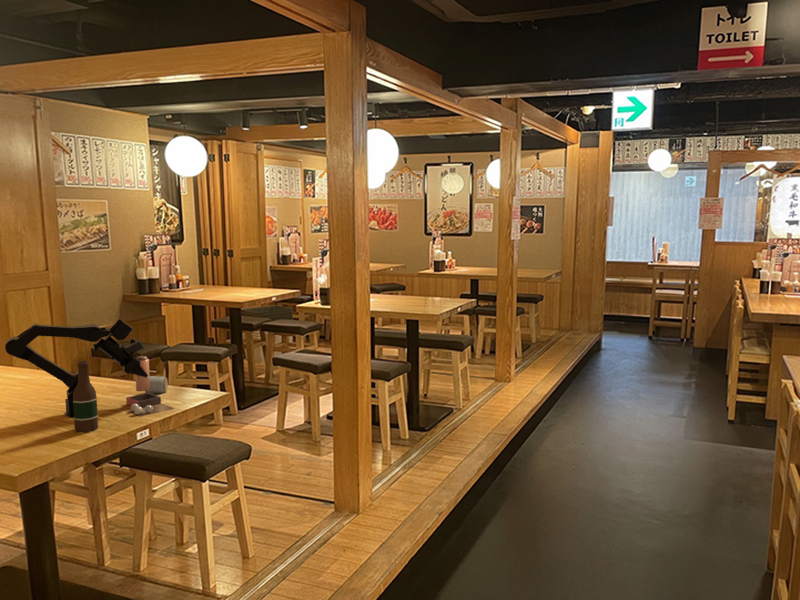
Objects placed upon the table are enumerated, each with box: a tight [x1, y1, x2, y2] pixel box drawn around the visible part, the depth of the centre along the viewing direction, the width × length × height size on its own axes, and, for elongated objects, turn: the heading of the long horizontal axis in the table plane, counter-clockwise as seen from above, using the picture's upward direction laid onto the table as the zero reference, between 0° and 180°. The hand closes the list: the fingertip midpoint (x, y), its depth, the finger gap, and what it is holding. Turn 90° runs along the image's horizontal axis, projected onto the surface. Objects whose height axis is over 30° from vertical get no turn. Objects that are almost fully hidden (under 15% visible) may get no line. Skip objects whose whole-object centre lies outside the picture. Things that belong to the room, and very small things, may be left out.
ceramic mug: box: [144, 375, 168, 395], centre depth 264 cm, size 11×8×8 cm
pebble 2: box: [134, 406, 143, 416], centre depth 232 cm, size 3×3×3 cm
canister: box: [135, 355, 150, 392], centre depth 244 cm, size 5×5×13 cm
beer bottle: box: [73, 360, 99, 433], centre depth 216 cm, size 8×8×24 cm
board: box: [126, 402, 176, 418], centre depth 238 cm, size 14×10×1 cm
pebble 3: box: [144, 405, 153, 413], centre depth 234 cm, size 3×3×3 cm
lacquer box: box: [125, 393, 162, 408], centre depth 245 cm, size 9×9×4 cm
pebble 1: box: [130, 404, 139, 411], centre depth 235 cm, size 3×3×3 cm
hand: (146, 374), depth 244 cm, fingers closed on canister, 5 cm apart
